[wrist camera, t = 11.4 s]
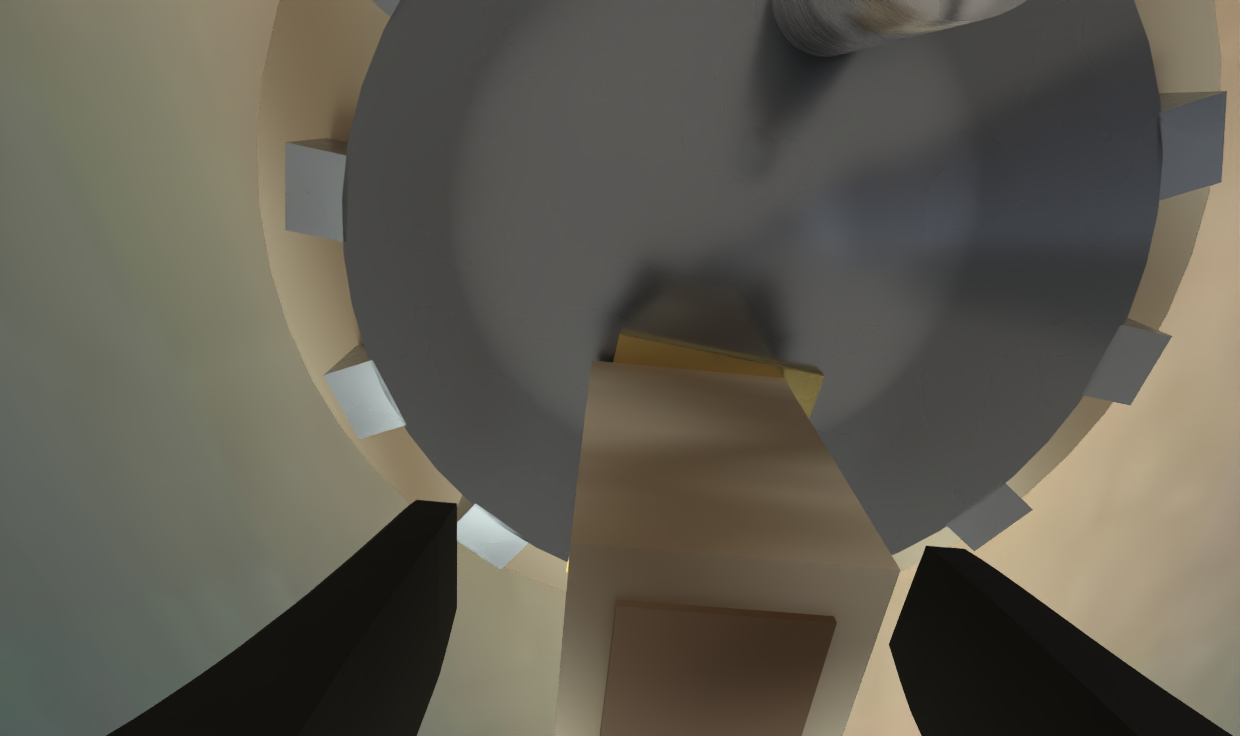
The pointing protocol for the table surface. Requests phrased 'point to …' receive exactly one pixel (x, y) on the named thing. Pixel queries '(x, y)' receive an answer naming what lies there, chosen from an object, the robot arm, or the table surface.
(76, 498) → the table surface
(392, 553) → the robot arm
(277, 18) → the sprocket base
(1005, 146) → the sprocket
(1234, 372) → the table surface
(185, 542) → the table surface
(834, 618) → the link block
